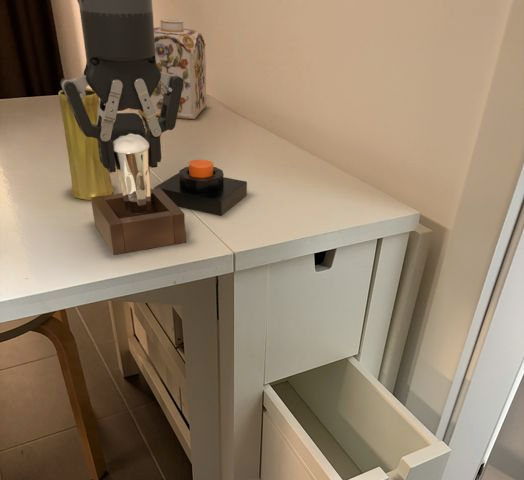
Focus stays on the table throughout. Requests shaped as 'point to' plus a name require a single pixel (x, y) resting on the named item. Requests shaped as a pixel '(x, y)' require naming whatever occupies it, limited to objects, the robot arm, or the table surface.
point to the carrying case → (127, 125)
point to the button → (201, 168)
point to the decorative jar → (181, 66)
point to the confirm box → (204, 191)
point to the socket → (138, 223)
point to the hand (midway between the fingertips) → (132, 167)
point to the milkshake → (133, 172)
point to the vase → (84, 151)
